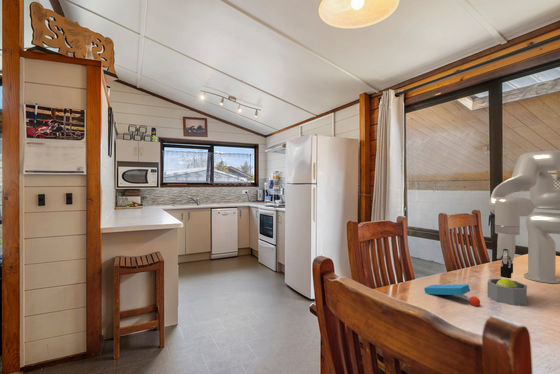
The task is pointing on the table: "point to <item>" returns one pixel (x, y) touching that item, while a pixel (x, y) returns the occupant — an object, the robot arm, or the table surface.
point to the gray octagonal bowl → (507, 293)
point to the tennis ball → (506, 283)
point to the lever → (452, 292)
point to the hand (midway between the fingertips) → (506, 274)
